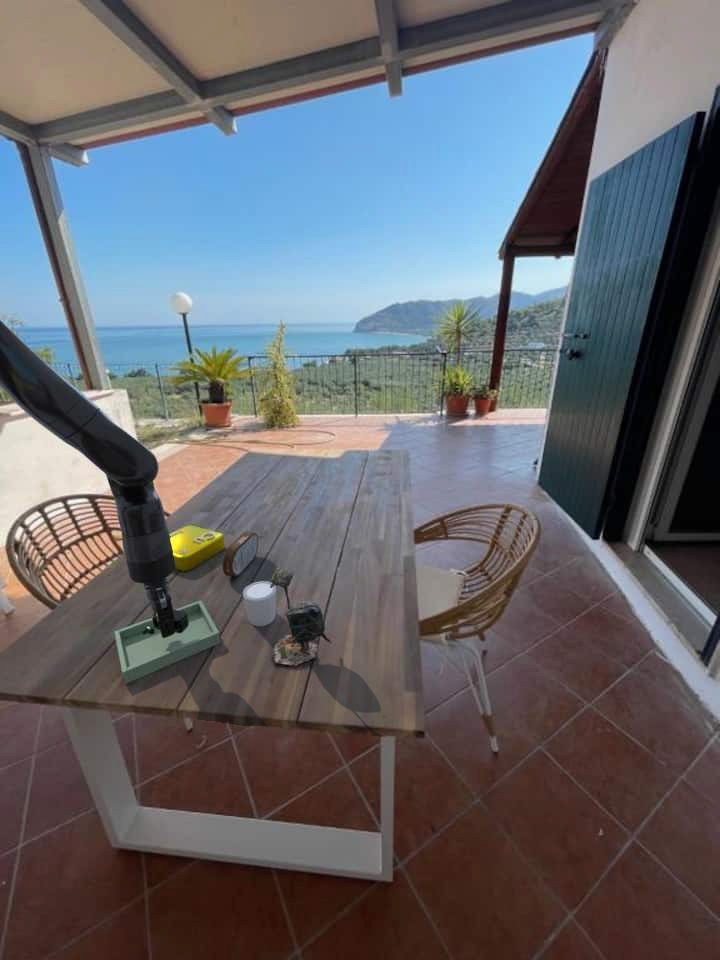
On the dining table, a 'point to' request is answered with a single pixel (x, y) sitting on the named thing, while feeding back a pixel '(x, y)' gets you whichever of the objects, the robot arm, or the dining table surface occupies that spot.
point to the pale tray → (164, 643)
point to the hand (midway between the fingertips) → (165, 626)
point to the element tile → (194, 546)
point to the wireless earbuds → (178, 623)
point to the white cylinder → (260, 603)
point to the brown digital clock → (240, 554)
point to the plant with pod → (298, 626)
